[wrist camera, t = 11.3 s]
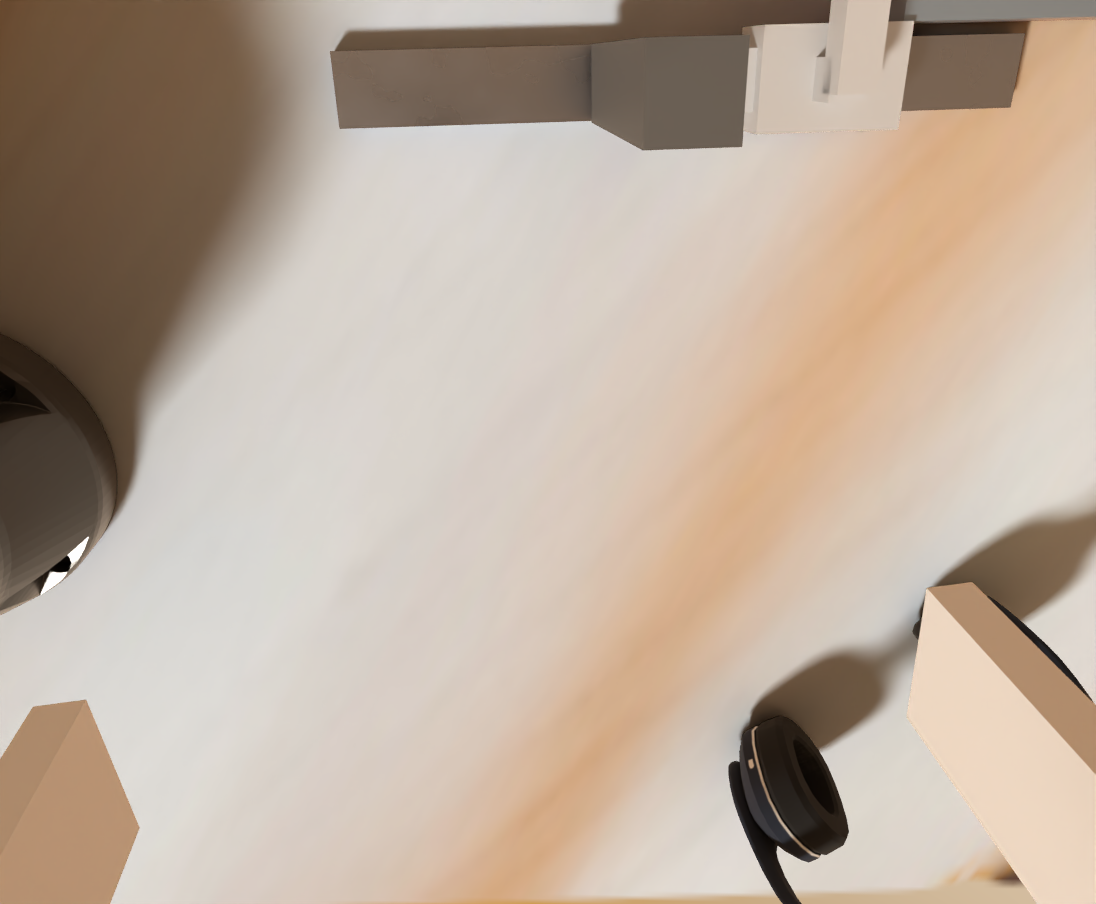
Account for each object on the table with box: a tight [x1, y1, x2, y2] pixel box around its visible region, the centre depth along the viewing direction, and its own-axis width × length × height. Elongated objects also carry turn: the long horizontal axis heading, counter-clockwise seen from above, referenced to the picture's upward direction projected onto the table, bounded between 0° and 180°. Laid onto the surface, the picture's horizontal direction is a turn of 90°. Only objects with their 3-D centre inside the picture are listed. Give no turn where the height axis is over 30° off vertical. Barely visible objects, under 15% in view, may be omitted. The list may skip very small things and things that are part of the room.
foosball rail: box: [330, 33, 1025, 129], centre depth 36 cm, size 30×3×1 cm, turn 91°
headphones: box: [729, 596, 1093, 904], centre depth 45 cm, size 20×7×18 cm, turn 130°
